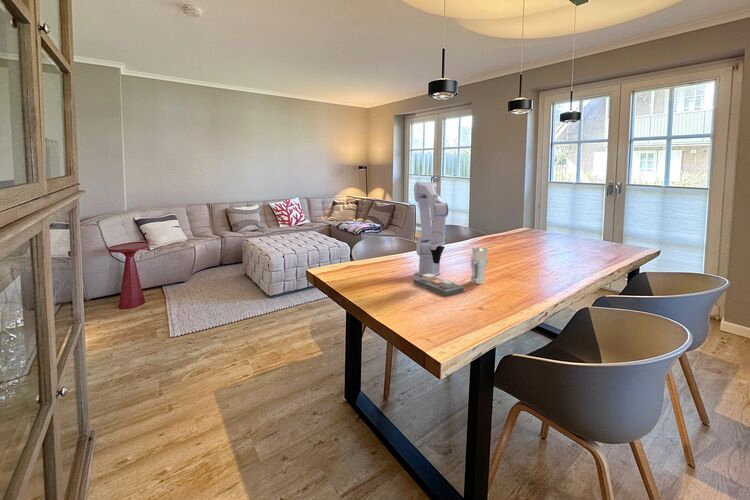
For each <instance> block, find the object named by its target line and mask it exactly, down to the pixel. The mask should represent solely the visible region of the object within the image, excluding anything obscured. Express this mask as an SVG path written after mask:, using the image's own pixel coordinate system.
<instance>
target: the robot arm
mask: <svg viewBox="0 0 750 500" xmlns="http://www.w3.org/2000/svg"><path fill="white" fill-rule="evenodd" d="M437 188H438V187H437V183H436V182H435V181H433V182H427V181H426V182H424V181H423V182H421V181H420V182H419V181H416V182H414V187H413V193H414V194H413V195H414V197H413V198H414V202H416V203H417V204H418V208H419V220H420V229H421V236H419V237H418V238H417V240H416V242H415V243H416V250H415V251H416V254H417V255H418V257H419V261H418V262H419V263H418V264H419V265H418V271H415V272H414V274H415V275H419V276H420V277H422V275H424V274H432V275H435V276H439V275H441V273H440V266H441V257H442V254H443V251H444V250H445V244H446V242H445V237H446V236H445V235H446V234H445V233H446V222H447V221H446V220H447V219H446V218H447V217H448V215H449V206H448V203H447V202H443V200H442V198H441V197H440V195H439V194H438V193H437V192H438V191H437V190H438V189H437Z"/></svg>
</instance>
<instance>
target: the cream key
mask: <svg viewBox="0 0 750 500" xmlns="http://www.w3.org/2000/svg"><path fill="white" fill-rule="evenodd" d="M421 277H422V280H425V281H427V282H430V281H432V280H435V279H436V278H437V275H432V274H424V275H422V276H421Z"/></svg>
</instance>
